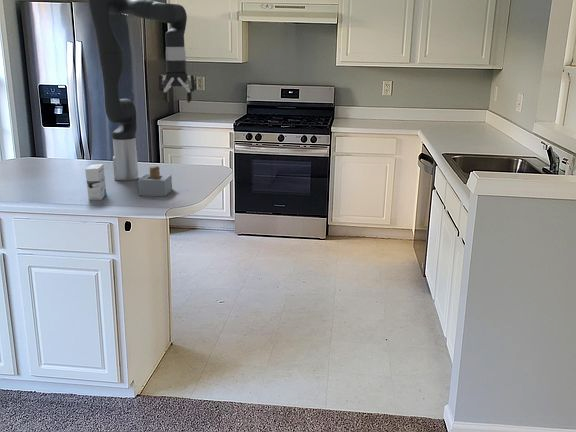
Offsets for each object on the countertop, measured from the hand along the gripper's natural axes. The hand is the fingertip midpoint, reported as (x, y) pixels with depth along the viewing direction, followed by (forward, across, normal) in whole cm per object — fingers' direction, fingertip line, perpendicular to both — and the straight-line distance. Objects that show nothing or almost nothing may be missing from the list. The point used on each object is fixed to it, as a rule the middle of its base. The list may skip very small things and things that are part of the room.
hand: (178, 102), depth 221 cm
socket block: (+33, -7, -14) cm, 37 cm away
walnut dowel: (+33, -7, -14) cm, 37 cm away
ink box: (+33, -27, -22) cm, 48 cm away
